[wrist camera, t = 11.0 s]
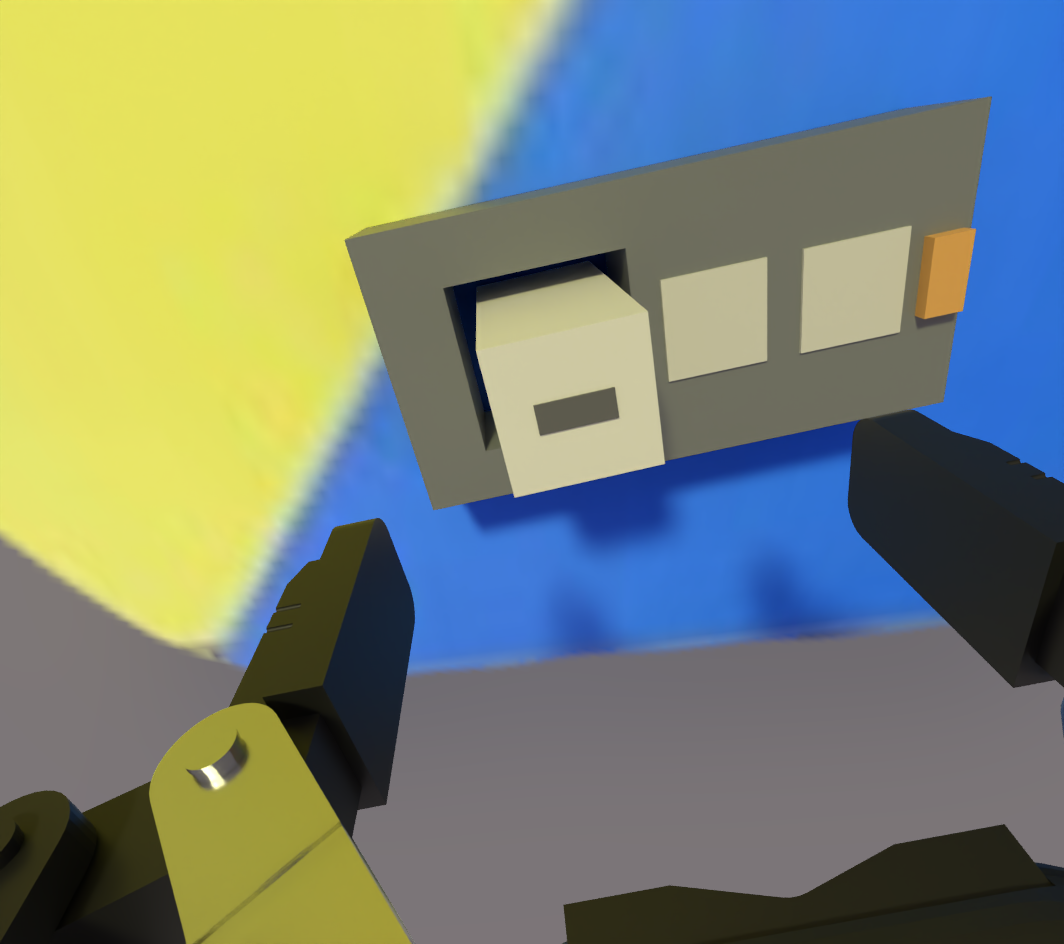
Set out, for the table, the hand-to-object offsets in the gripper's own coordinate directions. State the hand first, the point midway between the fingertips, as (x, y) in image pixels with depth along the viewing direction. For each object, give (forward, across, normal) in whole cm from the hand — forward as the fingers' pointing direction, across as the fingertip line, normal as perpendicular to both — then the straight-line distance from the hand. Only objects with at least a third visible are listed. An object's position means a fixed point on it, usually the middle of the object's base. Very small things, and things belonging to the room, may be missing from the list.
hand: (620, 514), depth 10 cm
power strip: (+13, -4, 0) cm, 13 cm away
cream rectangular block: (+13, 0, 0) cm, 13 cm away
